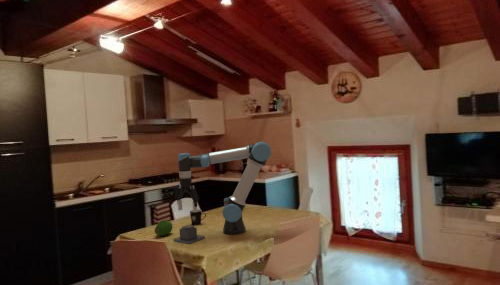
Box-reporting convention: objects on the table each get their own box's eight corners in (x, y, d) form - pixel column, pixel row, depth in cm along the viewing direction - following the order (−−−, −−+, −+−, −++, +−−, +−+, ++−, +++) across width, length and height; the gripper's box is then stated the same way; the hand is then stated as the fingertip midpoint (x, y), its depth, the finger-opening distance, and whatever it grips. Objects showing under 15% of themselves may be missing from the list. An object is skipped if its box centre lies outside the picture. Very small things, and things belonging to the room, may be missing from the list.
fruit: (162, 239, 246) (161, 223, 245) (150, 238, 250) (149, 223, 249) (176, 232, 260) (175, 218, 259) (164, 232, 264) (163, 217, 263)
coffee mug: (188, 224, 281) (187, 211, 280) (197, 222, 287) (196, 209, 287) (198, 226, 273) (197, 213, 272) (207, 224, 279) (206, 210, 279)
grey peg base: (189, 235, 251) (189, 225, 250) (204, 238, 242) (204, 228, 242) (173, 241, 239) (172, 231, 239) (188, 244, 231) (188, 233, 231)
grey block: (180, 238, 240) (179, 226, 239) (188, 235, 246) (188, 224, 245) (188, 239, 235) (187, 228, 235) (197, 236, 241) (196, 225, 241)
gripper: (167, 177, 244) (170, 210, 245) (194, 179, 229) (197, 213, 230) (176, 176, 250) (178, 208, 251) (203, 177, 235) (205, 211, 235)
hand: (187, 211), depth 240 cm, fingers open, 13 cm apart
